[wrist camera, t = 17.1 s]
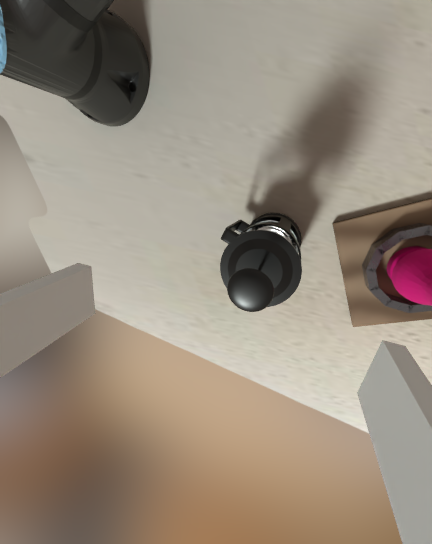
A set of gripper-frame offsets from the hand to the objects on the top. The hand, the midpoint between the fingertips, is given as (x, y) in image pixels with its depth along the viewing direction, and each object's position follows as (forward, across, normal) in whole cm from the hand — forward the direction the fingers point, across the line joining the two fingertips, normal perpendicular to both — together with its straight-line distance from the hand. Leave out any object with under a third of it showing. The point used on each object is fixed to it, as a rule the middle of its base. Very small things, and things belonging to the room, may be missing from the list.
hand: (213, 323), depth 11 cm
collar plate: (+33, +22, -3) cm, 39 cm away
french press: (+34, 0, -4) cm, 34 cm away
